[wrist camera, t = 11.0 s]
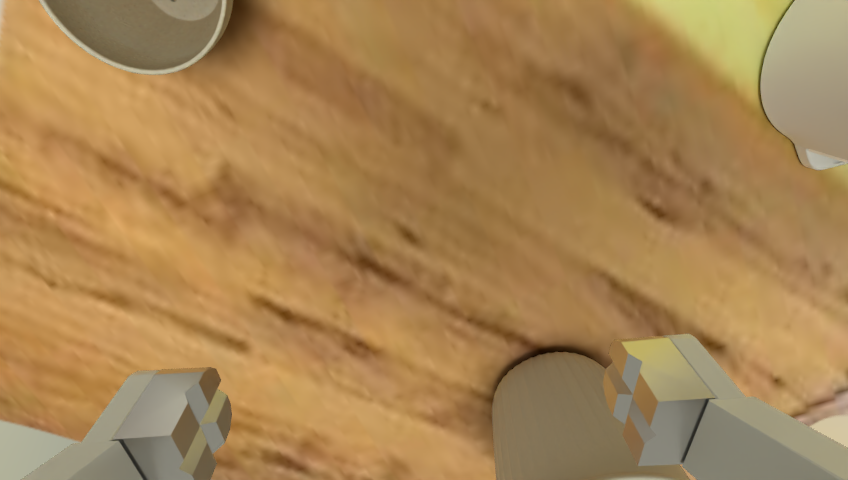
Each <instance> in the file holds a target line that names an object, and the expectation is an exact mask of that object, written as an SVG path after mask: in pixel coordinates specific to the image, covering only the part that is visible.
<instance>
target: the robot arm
mask: <svg viewBox="0 0 848 480" xmlns="http://www.w3.org/2000/svg"><path fill="white" fill-rule="evenodd" d="M760 86H761V99H762V104H763V107H764V110H765V113H766V115H767V117H768V119H769V120H770V122H771V123H772V124H773V126H774V127H775V128H776V129H777V130H778V131H780V132H781V133H782V134H784V135H785V136H786V137H788V138H789V139H790V140H791V141H792V142H793V143H794V144H795V148H796V151H797V154H798V157H799V159H800V161H801V163H802V164H803V165H804V166H805V167H808V168H811V169H815V170H824V169H828V168H832V167H836V166H840V165H844V164H848V0H795V1H794V2H793V3H792V5H791V6H790V8H789V9H788V11H787V12H786V14H785V15H784V17H783V18H782V20H781V22H780V23H779V25H778V27H777V29H776V31H775V33H774V35H773V37H772V39H771V42H770V44H769V47H768V49H767V52H766V55H765V59H764V63H763V67H762V73H761V85H760ZM609 356H610V357H611V359H612V361H613V363H612V364H610V365H609V366H608V367H607V368H606V369H605V373H604V379H603V385H604V395H605V398H606V401H607V404H608V407H609V409H610V411H611V413H612V415H613V416H614V417H615V418H617V419H618V420H619V421H621V422H622V423H623V424H625V427H624V431H623V437H624V439H625V441H626V443H627V445H628V447H629V449H630V451H631V453H632V455H633V457H634V459H635V461H636V463H637V465H638V466H653V465H677V464H683V466H682V467H683V468H684V469H686V470H687V471H688V472H689V473H690V474H691V475H692V476H694V477H695V478H696V479H697V480H848V448H847V447H845V446H843V445H842V444H840V443H838V442H836V441H834V440H833V439H831V438H828V437H827V436H825V435H823V434H821V433H820V432H818V431H816V430H814V429H812V428H811V427H809V426H807V425H805V424H803V423H801V422H800V421H798V420H796V419H794V418H792V417H790V416H789V415H787V414H785V413H783V412H781V411H779V410H778V409H776V408H774V407H772V406H770V405H769V404H767V403H765V402H763V401H761V400H759V399H758V398H756V397H746V396H745V395H744V394H743V393H742V392H741V390H740V389H739V388H738V387H737V386H736V385H735V383H734V382H733V381H732V380H731V379H730V378H729V376H728V375H727V374H726V373H725V372H724V371H723V369H722V368H721V367H720V366H719V365H718V363H717V362H716V361H715V360H714V359H713V358H712V356H711V355H710V354H709V353H708V352H707V351H706V349H705V348H704V347H703V346H702V345H701V343H700V342H699V341H698V340H697V339H696V338H695V337H694V336H692V335H690V334H679V335H667V336H655V337H642V338H629V339H616V340H614V341H613V342H612V343H611V345H610V350H609ZM220 382H221V379H220V376H219V374H218V372H217V370H216V369H215V368H211V367H206V368H183V369H162V370H148V371H136V372H135V373H133V374H131V375H130V376H129V377H128V378H127V379H126V381H125V382H124V384H123V385H122V386H121V388H120V389H119V390H118V392H117V393H116V395H115V396H114V397H113V399H112V400H111V402H110V403H109V404H108V406H107V407H106V409H105V410H104V411H103V413H102V414H101V416H100V417H99V418H98V420H97V421H96V423H95V424H94V425H93V427H92V428H91V429H90V431H89V432H88V434H87V435H86V436H85V438H84V439H83V441H82V442H81V443H75V444H71V445H70V446H69V447H67V448H66V449H64V450H63V451H61V452H60V453H58V454H57V455H55V456H54V457H53V458H51V459H50V460H48V461H47V462H45V463H44V464H42V465H41V466H40V467H38V468H37V469H35V470H34V471H32V472H31V473H29V474H28V475H27V476H25V477H24V478H22V479H21V480H210V479H211V477H212V474H213V472H214V469H215V467H216V464H217V463H216V460H215V457H214V455H213V453H214V452H215V451H216V450H217V449H218V448H220V447H221V446H222V445H223V444H224V443H225V441H226V438H227V436H228V433H229V430H230V425H231V417H232V412H231V404H230V401H229V398H228V396H227V395H226V394H225V393H223V392H222V391H220V390H219V389H217V388H218V386H219V384H220Z"/></svg>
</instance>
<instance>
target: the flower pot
mask: <svg viewBox="0 0 848 480" xmlns="http://www.w3.org/2000/svg"><path fill="white" fill-rule="evenodd" d="M39 1H40V3H41V5H42V6H43V8H44V9H45V11H46V12H47V13H48V15H49V16H50V17H51V19H52V20H53V21H54V22H55V23H56V25H57V26H58V27H59V28H60V29H61V30H62V31H63V32H64V33H65V34H66V35H67V36H68V37H69V38H70V39H71V40H72V41H74V42H75V43H76V44H77V45H78V46H80V47H81V48H82V49H84V50H85V51H86V52H88V53H89V54H91V55H92V56H94V57H96V58H98V59H99V60H101V61H103V62H105V63H107V64H109V65H111V66H114V67H116V68H119V69H122V70H125V71H128V72H132V73H137V74H145V75H162V74H169V73H173V72H177V71H180V70H183V69H185V68H187V67H189V66H191V65H192V64H194V63H196V62H197V61H199V60H200V59H202V58H203V57H204V56H205V55H207V54H208V53H209V52H210V51H211V50H212V49H213V47H214V46H215V45H216V44H217V42H218V41H219V40H220V38H221V37H222V35H223V33H224V31H225V29H226V27H227V25H228V22H229V19H230V16H231V12H232V7H233V0H175V1H174V0H39Z"/></svg>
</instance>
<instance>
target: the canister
mask: <svg viewBox="0 0 848 480" xmlns="http://www.w3.org/2000/svg"><path fill="white" fill-rule="evenodd" d="M604 373H605V368H604V367H603V366H602V365H600V364H598V363H597V362H596V361H594V360H593V359H590V358H588V357H586V356H584V355H578V354H576V353H568V352H554V353H546V354H542V355H538V356H536V357H530V358H529V359H528V360H526V361H522V363H520V364H519V365H516V366H515V367H514V368H513V369H512V370H510V371H509V372H508V373H507V375H505V376H504V377H503V379H502V381H501V382H500V383H499V385H498V387H497V390H496V392H495V394H494V400H493V404H492V426H493V443H494V457H495V469H496V480H690V479H689V477H688V476H687V475H686V473H685V472H684V470H683V469H682V467H681V466H680V465H679V464H677V465H653V466H638V465H637V463H636V461H635V459H634V457H633V455H632V453H631V451H630V449H629V447H628V445H627V443H626V441H625V439H624V437H623V431H624V427H625V424H623V423H622V422H621V421H619V420H618V419H617V418H615V417H614V416H613V415H612V413H611V411H610V409H609V407H608V404H607V401H606V398H605V395H604V385H603V379H604Z"/></svg>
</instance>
